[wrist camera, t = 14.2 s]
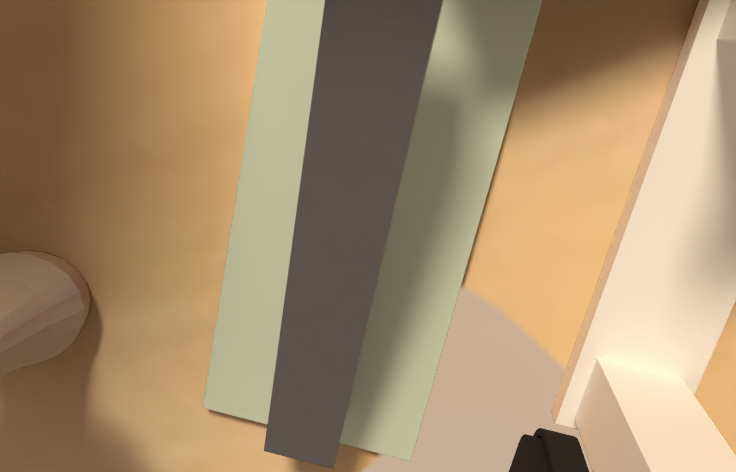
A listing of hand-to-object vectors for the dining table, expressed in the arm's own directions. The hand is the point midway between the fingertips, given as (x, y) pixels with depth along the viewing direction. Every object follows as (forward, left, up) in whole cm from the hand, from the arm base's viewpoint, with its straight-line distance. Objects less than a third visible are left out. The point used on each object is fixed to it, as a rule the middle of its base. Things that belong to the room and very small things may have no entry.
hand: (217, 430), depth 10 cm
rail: (0, 0, -14) cm, 14 cm away
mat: (0, 0, -18) cm, 18 cm away
